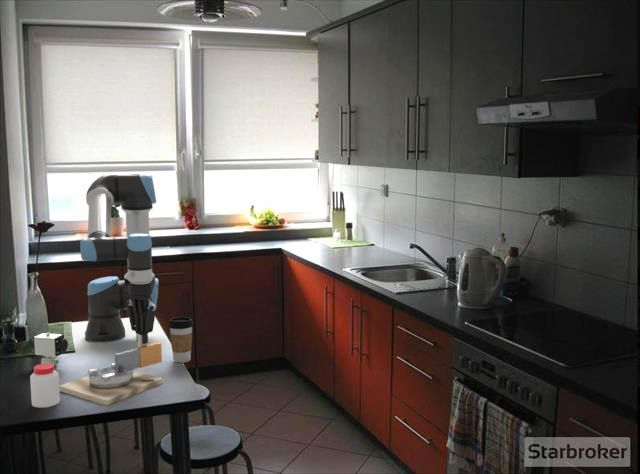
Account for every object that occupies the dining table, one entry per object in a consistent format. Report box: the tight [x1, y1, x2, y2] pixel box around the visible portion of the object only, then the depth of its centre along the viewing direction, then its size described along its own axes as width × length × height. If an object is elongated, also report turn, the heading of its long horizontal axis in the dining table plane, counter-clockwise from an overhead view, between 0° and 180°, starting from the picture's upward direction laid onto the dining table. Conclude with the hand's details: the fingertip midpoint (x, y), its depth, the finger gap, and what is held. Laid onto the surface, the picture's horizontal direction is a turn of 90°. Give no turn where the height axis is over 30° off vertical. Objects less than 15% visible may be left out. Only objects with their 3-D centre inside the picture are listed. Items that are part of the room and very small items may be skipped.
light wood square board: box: [59, 370, 164, 406], centre depth 207 cm, size 22×22×2 cm
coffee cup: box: [168, 316, 194, 363], centre depth 232 cm, size 8×8×15 cm
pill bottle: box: [29, 363, 61, 409], centre depth 193 cm, size 8×8×11 cm
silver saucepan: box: [88, 341, 163, 389], centre depth 210 cm, size 24×13×8 cm, turn 138°
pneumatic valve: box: [29, 331, 69, 367], centre depth 225 cm, size 6×12×12 cm, turn 78°
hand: (142, 352), depth 216 cm, fingers closed
